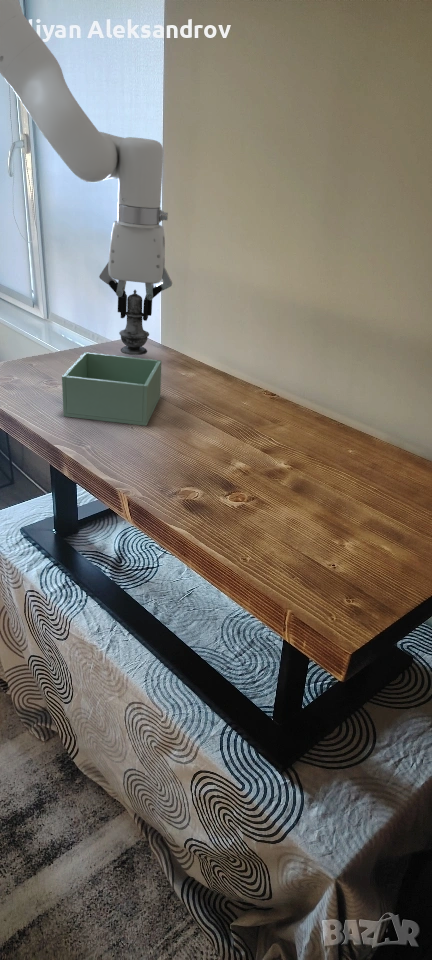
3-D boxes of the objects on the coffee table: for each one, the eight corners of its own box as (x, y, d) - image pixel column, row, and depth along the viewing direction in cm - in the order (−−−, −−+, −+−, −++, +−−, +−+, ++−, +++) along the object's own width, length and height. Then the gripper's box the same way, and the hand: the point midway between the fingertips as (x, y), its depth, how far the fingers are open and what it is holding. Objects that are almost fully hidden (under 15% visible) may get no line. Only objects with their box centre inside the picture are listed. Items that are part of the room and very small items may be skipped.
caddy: (63, 416, 98) (61, 376, 95) (85, 388, 109) (84, 351, 105) (146, 425, 97) (147, 386, 94) (160, 397, 108) (161, 360, 105)
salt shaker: (147, 356, 122) (149, 294, 116) (117, 354, 122) (117, 291, 116) (150, 347, 127) (151, 287, 121) (120, 345, 127) (121, 284, 121)
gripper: (185, 218, 116) (178, 317, 125) (96, 208, 115) (95, 308, 124) (183, 224, 109) (175, 327, 118) (88, 213, 108) (87, 318, 117)
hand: (134, 316), depth 121 cm, fingers closed on salt shaker, 3 cm apart
